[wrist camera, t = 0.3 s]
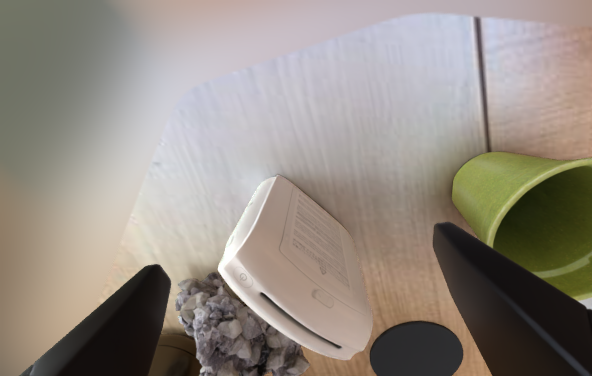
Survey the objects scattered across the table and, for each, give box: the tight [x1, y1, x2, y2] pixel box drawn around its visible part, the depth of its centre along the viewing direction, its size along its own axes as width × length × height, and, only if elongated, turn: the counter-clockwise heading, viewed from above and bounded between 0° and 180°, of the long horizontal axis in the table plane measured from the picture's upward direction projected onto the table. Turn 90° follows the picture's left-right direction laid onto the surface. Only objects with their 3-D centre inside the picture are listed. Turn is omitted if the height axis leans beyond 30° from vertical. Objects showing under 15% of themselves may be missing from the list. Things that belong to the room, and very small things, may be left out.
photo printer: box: [218, 175, 373, 360], centre depth 20 cm, size 10×4×12 cm, turn 49°
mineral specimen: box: [175, 273, 310, 376], centre depth 26 cm, size 12×9×10 cm
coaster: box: [370, 321, 463, 376], centre depth 31 cm, size 10×10×1 cm
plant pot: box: [452, 152, 592, 301], centre depth 20 cm, size 9×9×9 cm
